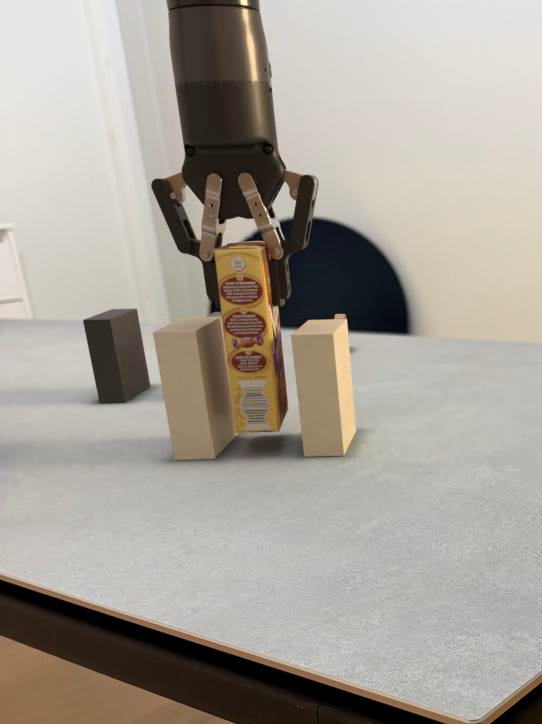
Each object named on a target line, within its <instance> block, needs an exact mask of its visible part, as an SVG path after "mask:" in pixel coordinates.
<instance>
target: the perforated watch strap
mask: <svg viewBox="0 0 542 724" xmlns="http://www.w3.org/2000/svg"><path fill="white" fill-rule="evenodd" d="M333 319H347V315H346V314H345V313H336V314H334V318H333ZM348 325H349V324H347V327H348V328H349V326H348ZM349 332H350V331H349V329H348V337H349V336H350V333H349Z"/></svg>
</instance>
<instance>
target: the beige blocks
mask: <svg viewBox="0 0 542 724" xmlns="http://www.w3.org/2000/svg"><path fill="white" fill-rule="evenodd" d="M347 325H348V319H347V318H346V319H334V318H333V319H308V320H307V321H306V322H304V323H303V324H302V325H301V326H300V327H298V328H297V329H296V330H295V331H294V332H292V333H291V334H290V338H291V339H290V341H291V346H292V347H291V348H292V349H291V350H292V359H293V367H294V375H295V384H296V385H295V386H296V395H297V403H298V412H299V413H298V415H299V422H300V431H301V441H302V449H303V457H305V458H307V457H308V458H309V457H310V458H311V457H312V458H313V457H344V456H345V455H346V453H347V451H348V449H349V447H350V445H351V442H352V441H353V439H354V437H355V435H356V433H357V428H356V427H357V424H356V423H357V422H356V411H355V402H354V389H353V376H352V366H351V365H352V363H351V351H350V341H349V336H348V334H349V332H348V330H349V326H348V327H347ZM152 335H153V341H154V342H153V343H154V346H155V347H154V348H155V353H156V360H157V365H158V372H159V377H160V383H161V388H162V395H163V399H164V407H165V412H166V418H167V424H168V431H169V435H170V442H171V447H172V453H173V454H172V455H173V459H174V460H175V461H188V460H190V461H191V460H192V461H193V460H215V459H216V458H217V457H218V456H219V455H220V454H221V453H222V452H223V451H224V450H225V449H226V447H227V446H228V445H229V444H230V443H231V442H232V441H233V440H234V439H235V438H236V437H237V436H238V434H239V433H236V432H235V424H234V415H233V407H232V398H231V391H230V382H229V374H228V367H227V359H226V350H225V341H224V332H223V324H222V317H221V316H219V317H206V316H184V317H181V318H179V319H177V320H175V321H172V322H170V323H169V324H166V325H165V326H163V327H161V328H158V329H157V330H154V331H152Z"/></svg>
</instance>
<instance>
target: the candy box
mask: <svg viewBox="0 0 542 724" xmlns="http://www.w3.org/2000/svg"><path fill="white" fill-rule="evenodd" d="M214 258H215V266H216V274H217V283H218V291H219V299H220V312H221V316H222V324H223V332H224V341H225V350H226V359H227V367H228V374H229V382H230V391H231V398H232V407H233V415H234V424H235V432H236V433H238V434H254V433H255V434H256V433H257V434H259V433H278V432H280V431H281V428H282V425H283V423H284V420H285V419H286V416H287V413H288V411H289V401H288V392H287V380H286V370H285V361H284V360H285V359H284V350H283V340H282V339H283V338H282V330H281V320H280V311H279V306H275V307H274V306H273V303H272V295H271V285H270V277H269V268H268V261H270V254H269V252H268V249H267V247H266V244H265V242H264V240H252V241H251V240H249V241H237V242H229V243H227V244H225V245H222V247H219V248H214Z"/></svg>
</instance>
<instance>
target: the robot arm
mask: <svg viewBox="0 0 542 724" xmlns="http://www.w3.org/2000/svg"><path fill="white" fill-rule="evenodd" d="M165 1H166V8H167V15H168V16H167V17H168V40H169V43H168V44H169V53H170V59H171V60H170V62H171V68H172V75H173V81H174V89H175V96H176V101H177V110H178V117H179V123H180V130H181V136H182V144H183V150H184V159H183V163H182V166H181V171H180V172H178V173H176V174H173V175H170V176H167V177H164V178H163V177H161V178H154V179H152V181H151V184H150V187H151V190H152V192H153V195H154V198H155V200H156V202H157V204H158V206H159V209H160V211H161V214H162V216H163V218H164V221H165V223H166V225H167V228H168V230H169V232H170V234H171V237H172V239H173V241H174V244H175V246H176V249H177V250H178V252H179V253H181V254H184V255H189V256H192V257H195V258H196V259H198V260H199V261H200V263H201V266H202V271H203V273H202V274H203V279H204V286H205V293H206V294H205V295H206V297H207V298H208V300H209V301H210V302H211V301H213V302H214V306H215V308H216V309H217V308H218V309H219V308H220V299H219V291H218V283H217V274H216V266H215V258H214V248H219V247H222V246H223V240H224V234H225V232H226V228H227V222H228V220H233V219H237V218H241V219H245V220H254V223H255V225H256V229H257V230H258V232H259V233H260V235H261V237H262V239H263V241H264V242H265V244H266V247H267V249H268V252H269V254H270V261H268V268H269V277H270V285H271V295H272V303H273V306H274V307H275V306H278V307H283V306H285V304H286V300H288V299H289V298H290V297H291V293H292V288H291V287H292V286H291V280H290V279H291V277H290V268H289V267H290V266H289V259H290V257H291V255H293V254H294V253H297V252H300V251H302V250H305V249H307V247H308V245H309V241H310V235H311V229H312V225H313V218H314V212H315V208H316V203H317V195H318V190H319V183H320V182H319V179H318V177H317V176H316V175H314V174H311V173H310V174H304V173H301V172H297V171H293V170H290V169H287V166H286V163H285V162H284V161H283V159H282V157H281V154H280V150H279V144H278V143H279V142H278V134H277V133H278V132H277V124H276V115H275V106H274V96H273V85H272V77H273V75H272V72H273V71H272V66H271V61H270V59H269V49H268V44H267V43H268V42H267V39H266V33H265V29H264V24H263V20H262V13H261V3H260V0H165ZM284 183H285V184H286V185H287V186H288V190H289V191H288V192H289V196H290V198H291V199H292V200H293V201H295V205H294V211H293V212H294V213H293V216H292V222H291V230H290V235H289V237H287V238H286V239H285V236H284V234H283V231H282V228H281V223H280V220H279V218H278V216H277V212H276V211H275V210H276V209H275V207H274V205H273V204H274V202H275V200H276V199H277V197H278V195H279V193H280V191H281V190H282V187H283V185H284ZM186 187H188V188H189V189H190V191H191V193H193V194H194V196H195V197H196V198H197V199H198V200H199V202H200V204H202V205H203V211H202V218H201V224H200V228H201V234H200V235H201V237H200V239H198V238H197V236H196V234H195V231H194V228H193V226H192V224H191V221H190V219H189V216H188V214H187V211H186V209H185V207H184V205H183V203H185V201H186V199H187V195H186ZM220 309H221V308H220Z"/></svg>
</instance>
